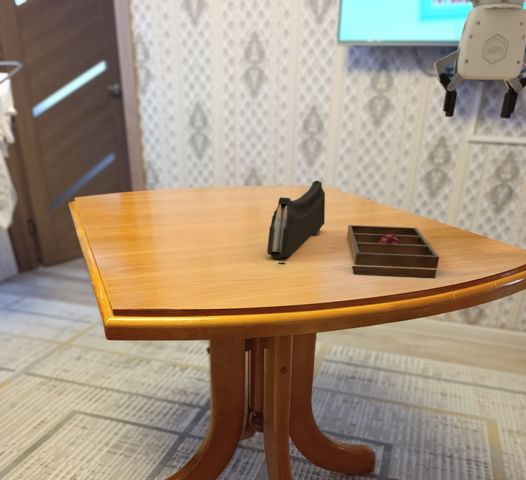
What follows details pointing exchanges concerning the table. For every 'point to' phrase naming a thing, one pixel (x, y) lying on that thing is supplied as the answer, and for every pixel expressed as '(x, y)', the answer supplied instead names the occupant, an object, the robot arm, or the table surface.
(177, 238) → the table surface
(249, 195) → the table surface
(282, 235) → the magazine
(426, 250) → the rack
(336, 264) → the table surface
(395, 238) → the dice
